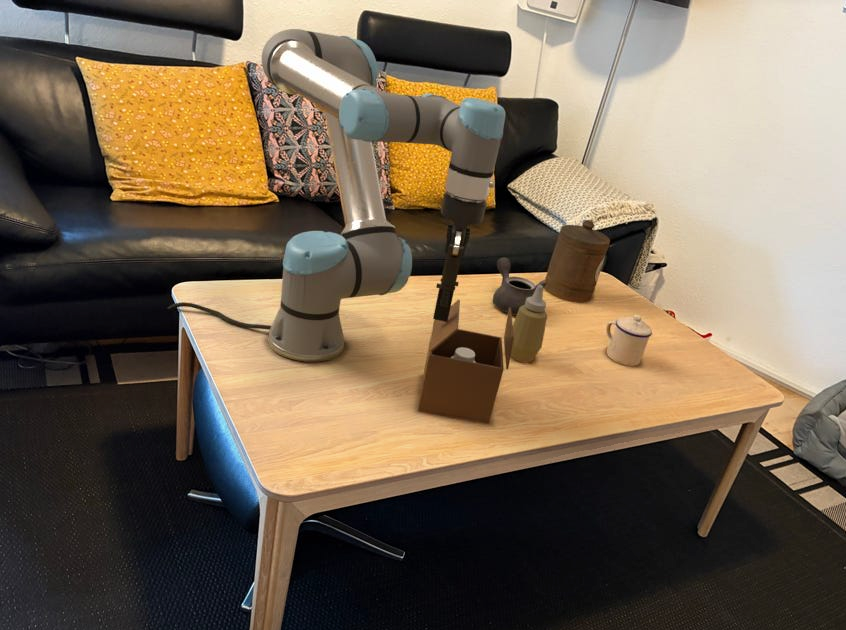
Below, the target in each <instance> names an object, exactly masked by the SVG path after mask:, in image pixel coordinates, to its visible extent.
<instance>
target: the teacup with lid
mask: <svg viewBox="0 0 846 630" xmlns="http://www.w3.org/2000/svg"><path fill="white" fill-rule="evenodd" d="M612 325H614V326H615V327H614V329H613V331H612V333H611V327H612ZM605 334H606V336H607V338H608V340H610V341H609V343H608V346H607V350H606V354H607V356H608V357H609V358H610V359H611V360H612V361H614V362H616V363H618V364H621V365H624V366H629V367H630V366H631V367H632V366H633V367H634V366H638V365H639V364H640V363H641V361H642V358H643V355H644V353H645V350H646V347H647V345H648V342H649V340H650V337H651V336H652V335H653V330H652V328H651V326H650V325H649V324H647V323H646V322H645V321H644V320H643V319H642V316H641V315H639V314H634V315H633V316H630V317H629V316H622V317H619V318H618V319H616V320H611V321H609V322H607V324H606V327H605Z"/></svg>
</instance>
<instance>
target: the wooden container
mask: <svg viewBox="0 0 846 630" xmlns="http://www.w3.org/2000/svg"><path fill="white" fill-rule="evenodd" d="M610 243H611V239H610V238H609V237H608V236H607V235H606V234H604V233H603V232H601V231H598V230H597V229H595V223H594V222H593V221H592V220H589V219H587V220H584V221H583V222H582V225H577V224H564V225H562V226H561V227H560V230H559V233H558V236H557V240H556V243H555V245H554V249H553V252H552V255H551V258H550V262H549V266H548V268H547V272H546V276H545V279H544V280H545V281H546V283H547V284H546V285H545V286H544V289H545V290H546V291H547V292H548V293H550V294H551V295H553V296H555V297H557V298H560V299H562V300H565V301H569V302H574V303H586V302H589V301H591V300H592V298H593V296H594V293H595V290H596V287H597V285H598V281H599V278H600V274H601V271H602V268H603V265H604V262H605V258H606V255H607V252H608V249H609V247H610Z"/></svg>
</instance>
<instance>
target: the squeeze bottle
mask: <svg viewBox="0 0 846 630" xmlns="http://www.w3.org/2000/svg"><path fill="white" fill-rule="evenodd" d="M543 297H544V288H543V286H541V285H538V287H537V288H536V290H535V292H534V294H533V296H532V297H528V298H527V299H526V302H525V305H523V306H521V307H520V308H519V311H518V313H517V315H515V319H514V320H513V322H512V324H513V334H514V339H513V345H512V351H511V357H510V358H511V359H514V360H516V361H518V362H523V363H529V362H532V361H533V360H534V358H535V357H536V356H537V355H538V354H539V352H540V350H541V349H542V347H543V341H544V337H545V330H546V325H547V320H548V312H547V311H546V307H547V302H546V301H545V300H544V299H543Z"/></svg>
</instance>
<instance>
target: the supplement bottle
mask: <svg viewBox="0 0 846 630" xmlns="http://www.w3.org/2000/svg"><path fill="white" fill-rule="evenodd" d="M451 358H454V359H459V360H464V361H470V362H475V361H474V359H475V353H474V351H472V350H471V349H468V348H463V347H461V348H457V349H456V350H455V354H454V356H452V357H451ZM475 363H476V362H475Z"/></svg>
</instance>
